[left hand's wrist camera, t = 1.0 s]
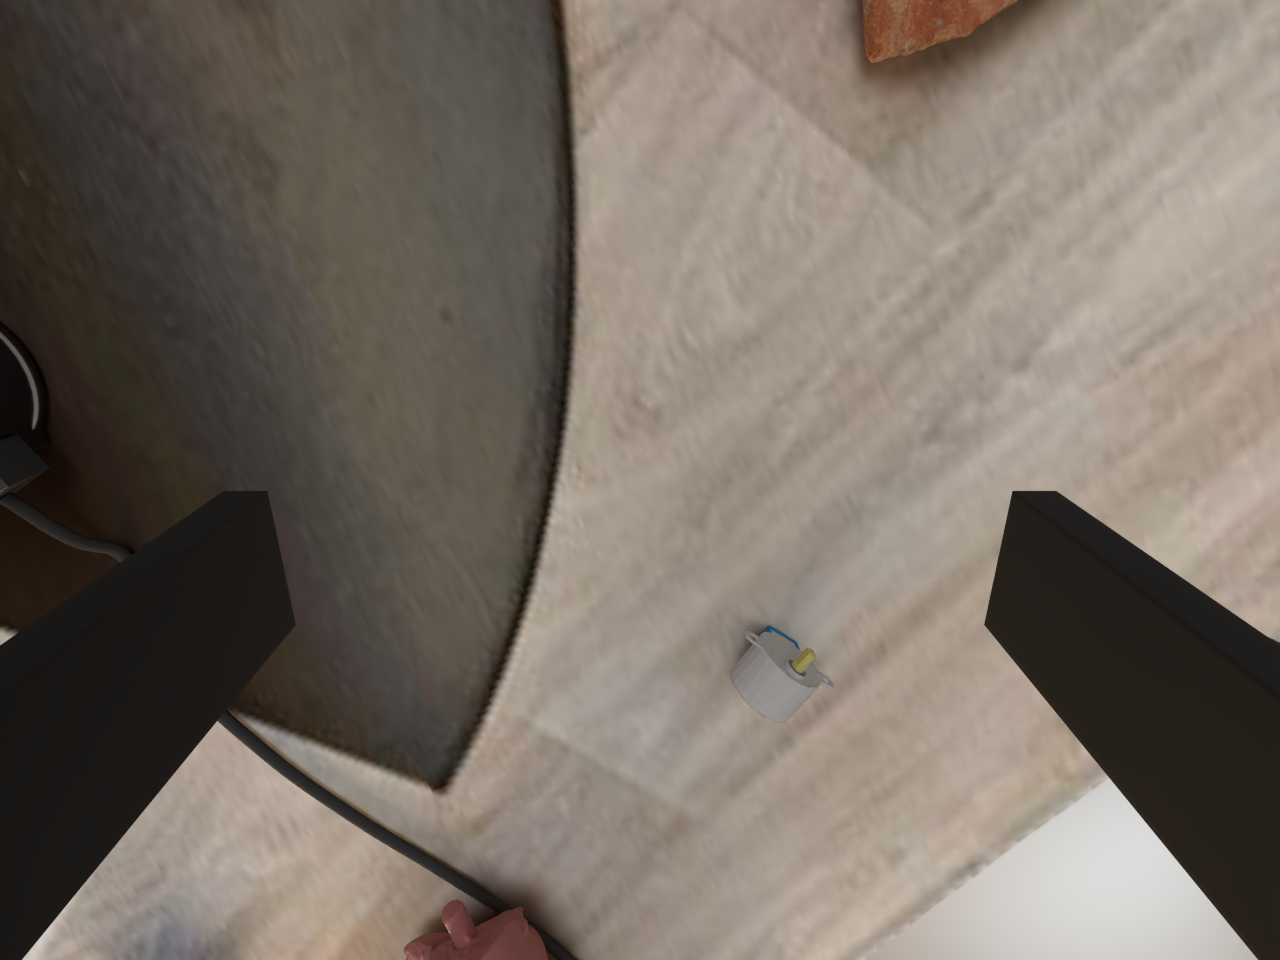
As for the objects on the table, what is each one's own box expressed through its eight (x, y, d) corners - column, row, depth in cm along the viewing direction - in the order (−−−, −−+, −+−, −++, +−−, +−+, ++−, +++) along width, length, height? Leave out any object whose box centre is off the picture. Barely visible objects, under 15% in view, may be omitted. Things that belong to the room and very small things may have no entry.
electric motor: (839, 641, 46) (861, 690, 41) (793, 690, 48) (810, 743, 43) (755, 590, 45) (768, 635, 40) (711, 643, 46) (719, 692, 42)
